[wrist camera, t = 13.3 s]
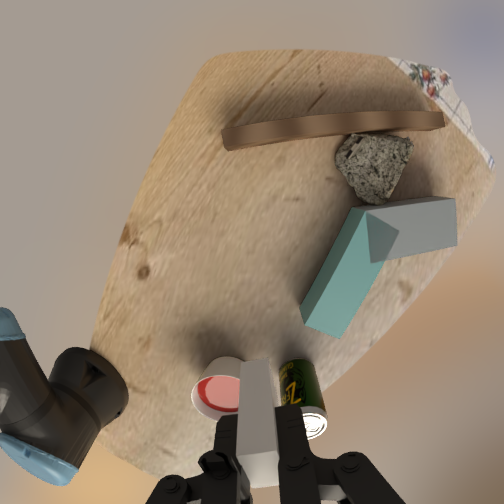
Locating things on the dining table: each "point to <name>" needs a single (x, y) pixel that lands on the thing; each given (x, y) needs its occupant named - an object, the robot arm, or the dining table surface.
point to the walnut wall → (329, 127)
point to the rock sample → (373, 164)
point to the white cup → (218, 388)
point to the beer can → (303, 393)
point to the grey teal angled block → (374, 254)
